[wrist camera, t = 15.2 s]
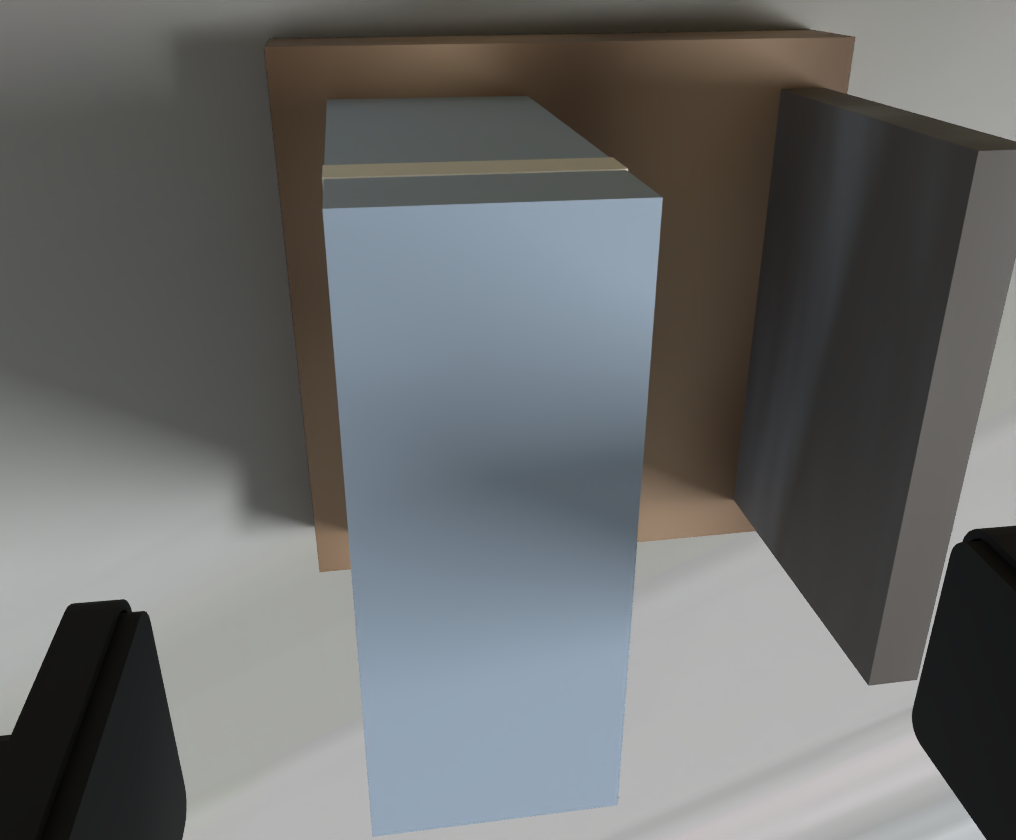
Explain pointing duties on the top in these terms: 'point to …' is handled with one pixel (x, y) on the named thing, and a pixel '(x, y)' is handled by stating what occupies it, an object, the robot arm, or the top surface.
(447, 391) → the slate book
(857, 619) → the brown l-shaped piece
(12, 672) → the top surface
